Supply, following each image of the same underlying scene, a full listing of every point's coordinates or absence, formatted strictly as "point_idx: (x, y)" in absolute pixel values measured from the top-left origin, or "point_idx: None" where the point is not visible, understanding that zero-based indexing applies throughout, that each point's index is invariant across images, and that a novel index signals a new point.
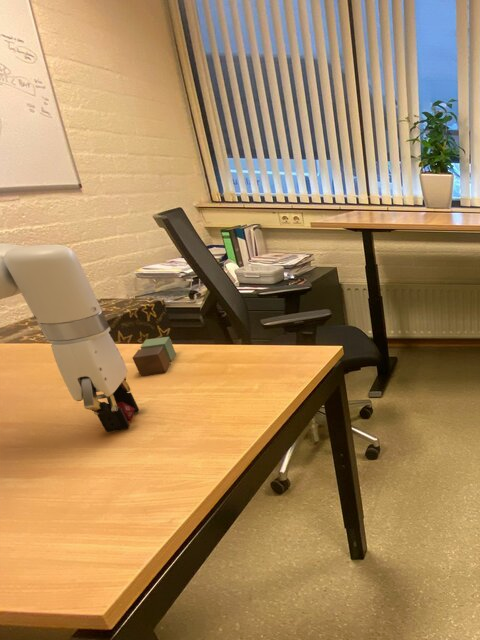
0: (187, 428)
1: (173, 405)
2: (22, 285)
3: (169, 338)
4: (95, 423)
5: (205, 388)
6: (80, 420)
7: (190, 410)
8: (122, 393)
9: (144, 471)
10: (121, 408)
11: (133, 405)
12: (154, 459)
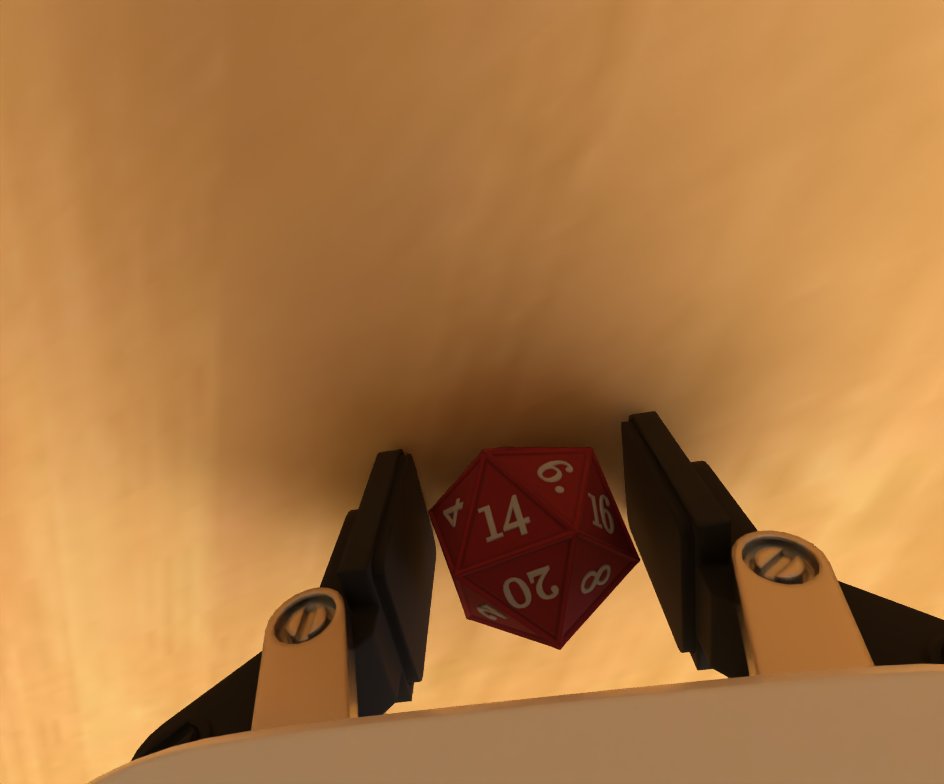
0: None
1: (667, 655)
2: None
3: None
4: (569, 279)
5: None
6: (678, 103)
7: None
8: (702, 644)
9: (26, 728)
10: (497, 618)
11: (646, 564)
12: (115, 732)
